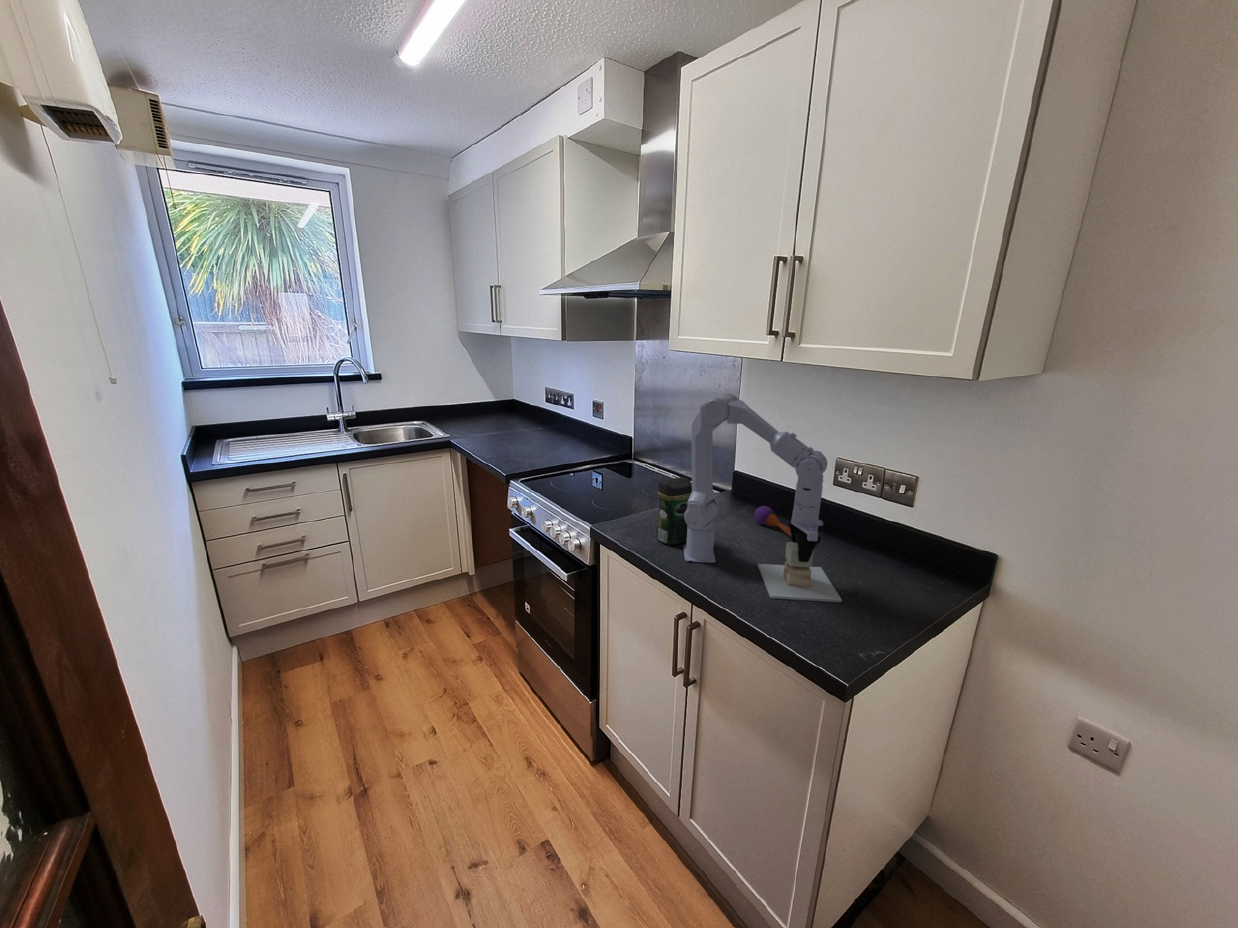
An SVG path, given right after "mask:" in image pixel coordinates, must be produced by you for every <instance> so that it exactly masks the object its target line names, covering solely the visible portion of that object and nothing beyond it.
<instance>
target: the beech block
mask: <svg viewBox="0 0 1238 928" xmlns="http://www.w3.org/2000/svg"><path fill="white" fill-rule="evenodd" d="M784 565H785V566H784V577H785V580H786V582H787V584H788V585H792V586H810V579H811V572H812V571H811V570H810V568H809V567H797V566H790V565H789V563H788V561H787V560H784Z"/></svg>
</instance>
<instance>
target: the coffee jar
mask: <svg viewBox="0 0 1238 928" xmlns="http://www.w3.org/2000/svg"><path fill="white" fill-rule="evenodd" d="M657 486H658V487H657V496H658V498H659V506H658V515H657V516H658V517H657V525H656V531H655V532H656V534H655V537H656V539H657V540H658V541H659V542H660V543H662V544H665V545H668V546H671V545H672V546H673V545H678V544H682V543H685V542H687V527H688V525H687V523H686V522H685V518H684V514H685V511H686V510H687V505H688V503H687V502H688V499H689V497H690V495H691V493H692V480H691V479H689V478H687V477H684V476H679V477H675V478H670V479H668V478H667V479H661V480H660V481H658V485H657Z"/></svg>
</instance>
